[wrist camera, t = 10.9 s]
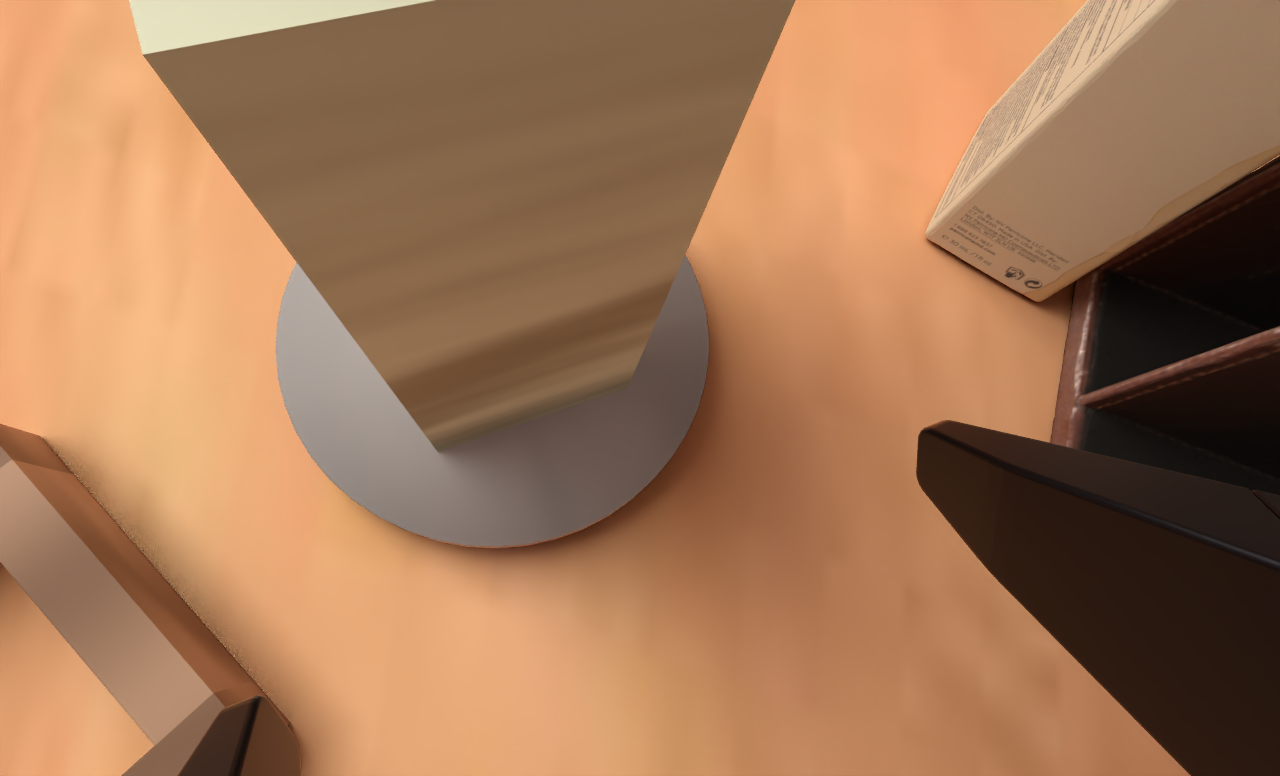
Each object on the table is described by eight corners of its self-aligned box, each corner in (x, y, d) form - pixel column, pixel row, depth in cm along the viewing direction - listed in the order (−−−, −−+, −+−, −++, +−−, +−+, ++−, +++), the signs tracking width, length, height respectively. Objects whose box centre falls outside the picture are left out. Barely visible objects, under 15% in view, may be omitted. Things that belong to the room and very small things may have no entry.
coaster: (752, 482, 19) (763, 477, 18) (330, 605, 16) (316, 606, 15) (638, 140, 21) (643, 119, 20) (259, 204, 19) (245, 184, 18)
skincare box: (1035, 309, 21) (1612, -17, 10) (913, 235, 22) (1343, -171, 10) (1095, 168, 23) (1635, -242, 12) (983, 102, 24) (1409, -367, 12)
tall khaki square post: (627, 387, 18) (826, -75, 5) (437, 451, 17) (142, 53, 4) (562, 223, 19) (606, -472, 6) (380, 273, 18) (12, -458, 5)
